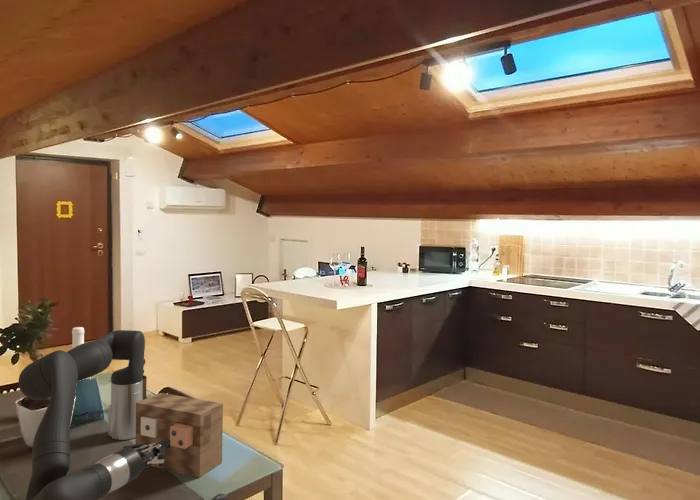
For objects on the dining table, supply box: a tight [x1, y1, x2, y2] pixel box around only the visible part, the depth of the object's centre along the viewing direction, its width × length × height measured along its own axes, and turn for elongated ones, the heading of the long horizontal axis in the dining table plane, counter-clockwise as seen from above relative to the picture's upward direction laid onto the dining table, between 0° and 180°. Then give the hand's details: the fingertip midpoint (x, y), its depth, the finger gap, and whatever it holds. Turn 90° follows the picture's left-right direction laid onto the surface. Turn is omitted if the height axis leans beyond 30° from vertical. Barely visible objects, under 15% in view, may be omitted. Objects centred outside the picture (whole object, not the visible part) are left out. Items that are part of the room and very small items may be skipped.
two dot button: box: [170, 423, 194, 449], centre depth 143 cm, size 5×5×5 cm
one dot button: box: [141, 416, 158, 438], centre depth 150 cm, size 5×5×5 cm
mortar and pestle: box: [142, 358, 148, 400], centre depth 196 cm, size 7×6×18 cm
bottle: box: [71, 326, 85, 349], centre depth 188 cm, size 8×8×30 cm
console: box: [135, 392, 224, 479], centre depth 151 cm, size 22×10×17 cm, turn 68°
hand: (168, 442), depth 138 cm, fingers closed
